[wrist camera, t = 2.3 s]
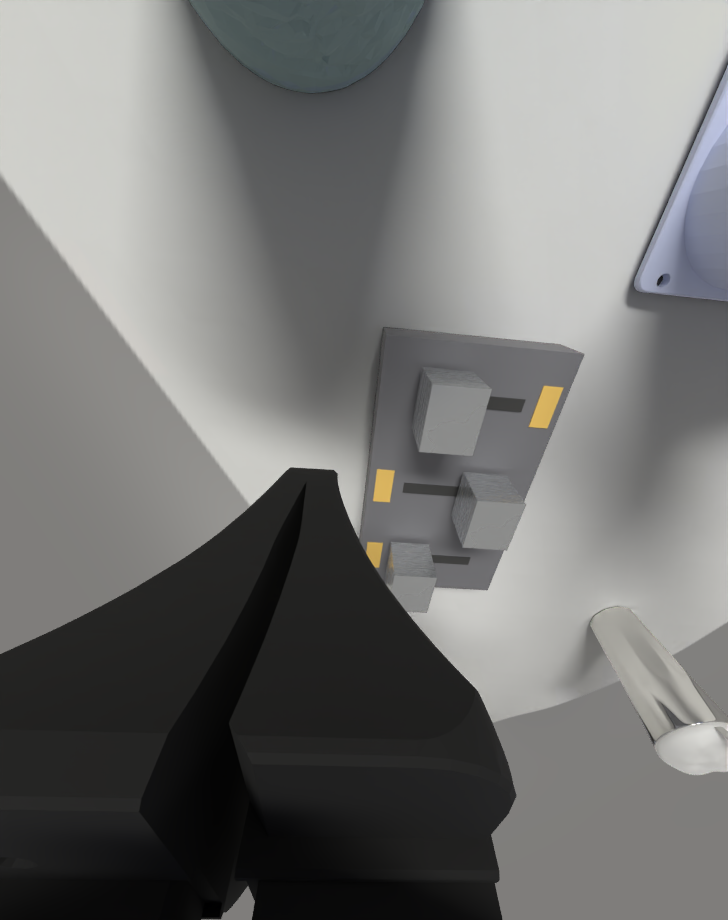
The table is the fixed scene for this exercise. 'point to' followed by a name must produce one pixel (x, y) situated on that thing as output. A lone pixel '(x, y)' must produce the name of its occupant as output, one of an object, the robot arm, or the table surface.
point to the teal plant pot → (309, 37)
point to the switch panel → (439, 475)
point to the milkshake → (664, 695)
